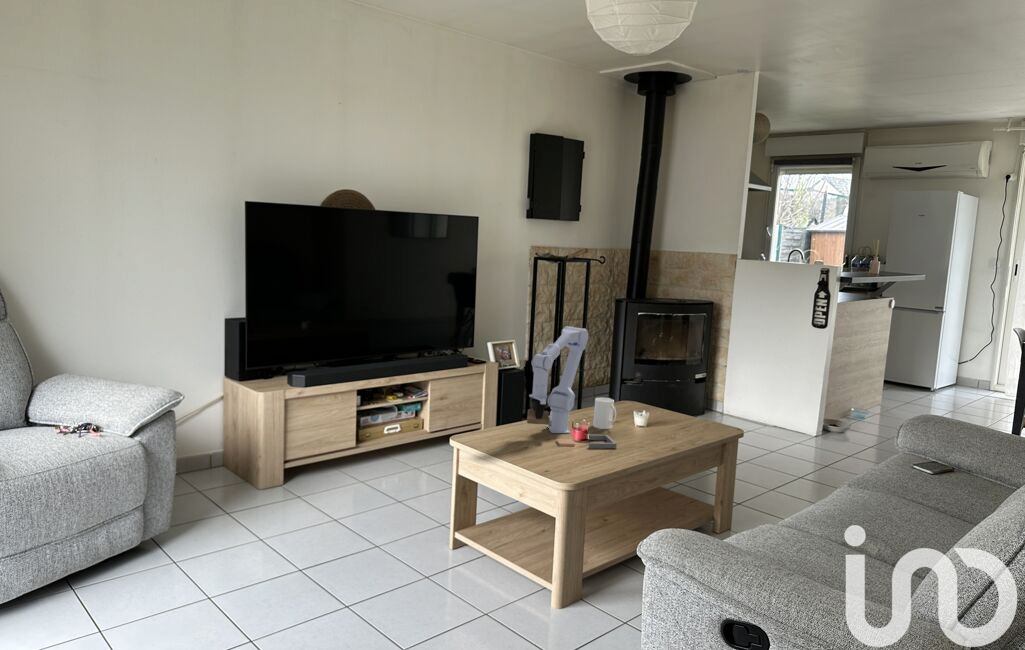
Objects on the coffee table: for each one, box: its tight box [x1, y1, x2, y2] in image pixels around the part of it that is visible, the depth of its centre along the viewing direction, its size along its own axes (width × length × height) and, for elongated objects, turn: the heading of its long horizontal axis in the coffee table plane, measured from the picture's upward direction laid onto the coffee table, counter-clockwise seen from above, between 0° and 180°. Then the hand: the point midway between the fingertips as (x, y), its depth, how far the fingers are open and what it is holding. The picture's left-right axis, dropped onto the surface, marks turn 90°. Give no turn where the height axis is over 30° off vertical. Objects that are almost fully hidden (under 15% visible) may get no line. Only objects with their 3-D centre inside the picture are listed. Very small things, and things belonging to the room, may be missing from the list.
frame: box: [588, 434, 618, 449], centre depth 283 cm, size 12×11×2 cm
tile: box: [555, 438, 576, 447], centre depth 280 cm, size 6×6×2 cm
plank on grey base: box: [526, 409, 552, 427], centre depth 284 cm, size 8×9×5 cm
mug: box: [592, 397, 617, 430], centre depth 308 cm, size 12×8×12 cm
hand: (537, 417), depth 284 cm, fingers closed on plank on grey base, 2 cm apart
